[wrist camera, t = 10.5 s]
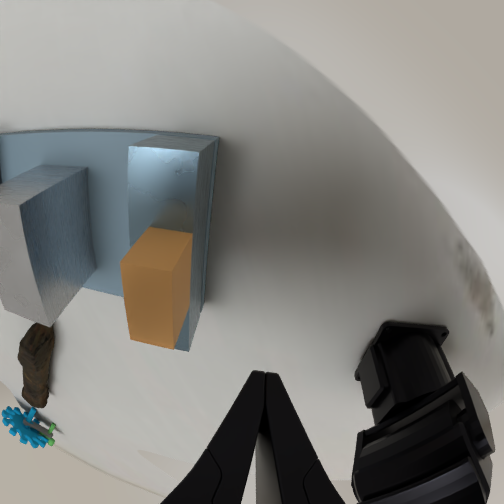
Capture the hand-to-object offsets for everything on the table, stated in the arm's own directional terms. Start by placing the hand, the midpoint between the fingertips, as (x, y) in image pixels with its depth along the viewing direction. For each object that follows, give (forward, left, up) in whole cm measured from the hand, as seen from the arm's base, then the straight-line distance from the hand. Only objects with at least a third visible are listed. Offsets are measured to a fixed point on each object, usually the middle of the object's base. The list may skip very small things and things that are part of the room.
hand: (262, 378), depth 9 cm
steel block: (+13, 0, -9) cm, 16 cm away
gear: (+35, +41, -10) cm, 55 cm away
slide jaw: (+5, 0, -8) cm, 10 cm away
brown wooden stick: (+23, +19, -10) cm, 31 cm away
